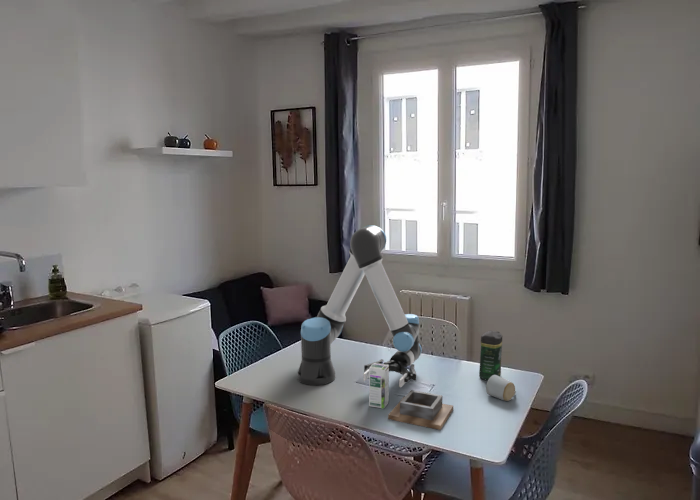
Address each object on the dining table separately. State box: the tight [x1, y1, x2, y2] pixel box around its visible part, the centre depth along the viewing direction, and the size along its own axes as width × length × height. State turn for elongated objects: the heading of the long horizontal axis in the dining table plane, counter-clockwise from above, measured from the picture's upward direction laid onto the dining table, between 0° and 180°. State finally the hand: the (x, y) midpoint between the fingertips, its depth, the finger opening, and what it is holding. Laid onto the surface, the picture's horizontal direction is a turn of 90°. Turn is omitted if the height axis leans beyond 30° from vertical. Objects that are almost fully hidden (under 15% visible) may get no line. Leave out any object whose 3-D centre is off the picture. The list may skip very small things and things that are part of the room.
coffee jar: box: [478, 330, 503, 382], centre depth 212 cm, size 10×8×19 cm
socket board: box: [387, 389, 454, 431], centre depth 181 cm, size 18×16×6 cm
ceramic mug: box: [485, 375, 517, 402], centre depth 195 cm, size 11×8×8 cm
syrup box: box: [368, 362, 390, 410], centre depth 188 cm, size 6×6×14 cm
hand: (381, 380), depth 188 cm, fingers open, 13 cm apart
